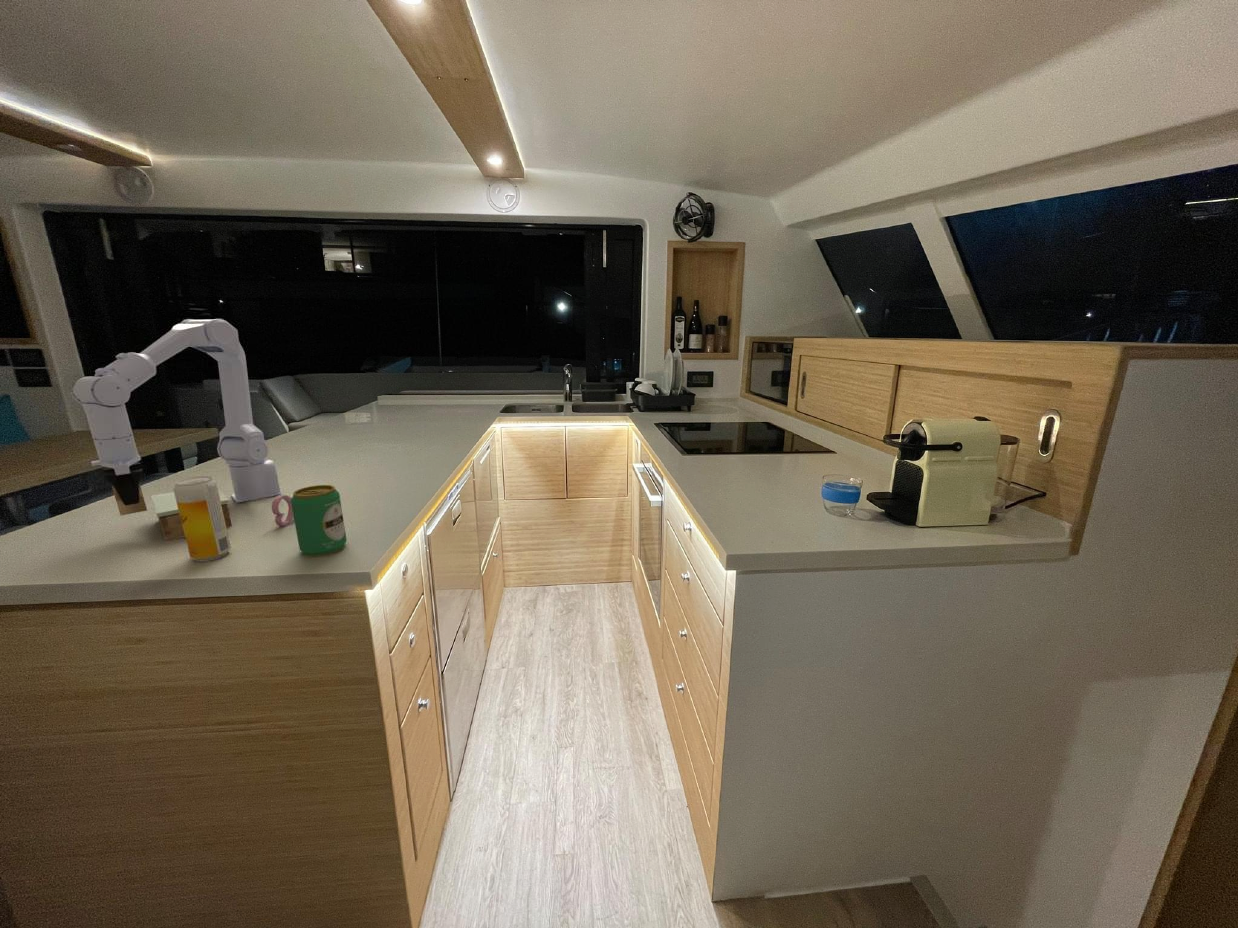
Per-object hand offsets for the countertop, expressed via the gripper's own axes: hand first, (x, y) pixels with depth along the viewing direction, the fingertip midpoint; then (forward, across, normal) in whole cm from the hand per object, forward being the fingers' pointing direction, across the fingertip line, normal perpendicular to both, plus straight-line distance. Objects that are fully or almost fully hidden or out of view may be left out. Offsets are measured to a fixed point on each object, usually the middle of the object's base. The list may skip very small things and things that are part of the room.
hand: (131, 501), depth 103 cm
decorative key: (+8, +11, +28) cm, 31 cm away
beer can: (+8, +24, +9) cm, 27 cm away
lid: (+2, 0, +9) cm, 9 cm away
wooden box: (+7, 0, +9) cm, 12 cm away
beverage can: (+8, +36, +25) cm, 45 cm away
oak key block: (+2, 0, 0) cm, 2 cm away
